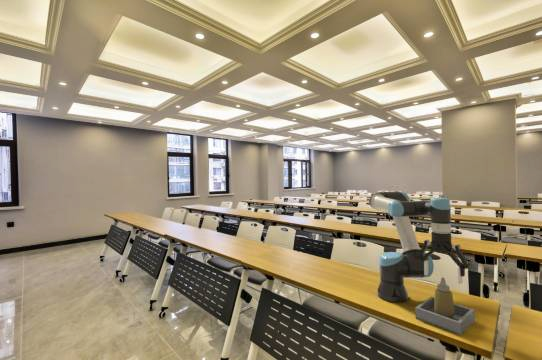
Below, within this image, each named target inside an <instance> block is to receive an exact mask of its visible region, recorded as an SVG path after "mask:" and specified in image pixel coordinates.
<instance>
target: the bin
mask: <svg viewBox="0 0 542 360" xmlns="http://www.w3.org/2000/svg"><path fill="white" fill-rule="evenodd" d="M434 299H435V296H431V297H429V298H427V299H426V300H424V301H423V302H422V303H421V302H420V304H418V305H417V306H415V307H414V309H415V311H414V312H415V319H416V320H419V321H421V322H424V323H426V324H429V325H432V326H434V327H438V328H439V329H442V330H444V331H447V332H450V333H452V334H456V335H457V336H459V337H461V336H462V335H463V334H464V333H465V332H466V331H467V330H469V328H470V327H471V326H472V325H473V324H474V323H475V322H476V315H475V312H476V311H475V309H474V308H470V307H467V306H463V305H460V304H457V303H454V308H455V314H454V317H453V319H450V318H447V317H444V316H442V315H439V314H436V312H435V310H434Z"/></svg>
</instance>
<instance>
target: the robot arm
mask: <svg viewBox="0 0 542 360" xmlns="http://www.w3.org/2000/svg"><path fill="white" fill-rule="evenodd" d="M368 203H369V206H370V207H371V208H372V209H374V210H377V211H380V210H381V211H384V212H387V213H388V214H389V216H390V217H392V219H393V223H394V225H395V228H396V231H397V235H398V237H399V240H400V244H401V247H402V252H398V251H395V252H394V251H388V252H384V253H382V254H381V255H380V256H379V275H380V276H379V277H380V280H379V281H380V282H379V284H378V288H377V296H378V297H379V298H380V299H381V300H384V301H387V302H389V303H390V302H391V303H404V302H405V303H406V302H407V301H408V300H409V293H408V291H407V288H406V286H405V282H404V281H405V280H404V278H408V279H410V278H421V279H423V278H430V277H431V276H432V275H433V273H434V267H435V265H434V261H433V258H432V256H431V255H433V254H434V253H435V252H436V253H442V254H446V255H447V256H449V257H450V258H451V260H452V261H453V262H454V263H455V264H456V265H457V266H458V268H457V281H458V282H457V284H458V285H462V284H463V279H464V278H463V277H465V275H466V271H465V270H468V269H469V268H471V266H470V264H469V261H468V260H467V258H466V257H465V255H464V253H463V251H462V249H461V244H453V243H452V233H451V232H452V223H451V222H452V221H451V220H452V219H451V218H452V217H451V208H452V206H451V201H450V199H449V198H448V197H433V198H430V200H427V199H422V200H421V199H420V200H413V201H412V200H411V199H410V197H409V195H408V193H406V192H404V191H400V190H396V191H379V192H378V191H377V192H375V193H372V194H371V196H370V197H369V199H368ZM410 217H429V218H430V226H431V227H430V229H431V240H429V239H426V240H424V241H423V245H422V248H421V247H420V244H419V242H418V239H417V235H416V233H415V231H414V228H413V226H412V222H411V220H410ZM430 245H431V247H432V248H431V249H430V250H429V251H428V252H426V251H427V250H428V248H429V246H430ZM452 249H453V250H452ZM454 251H455V252H456V254H455V252H454ZM456 255H457V256H456Z"/></svg>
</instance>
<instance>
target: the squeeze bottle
mask: <svg viewBox="0 0 542 360" xmlns="http://www.w3.org/2000/svg"><path fill="white" fill-rule="evenodd" d="M436 287H437V288H436V289H435V290H434V298H435V299H434V310H435V312H436V314H439V315H442V316H444V317H447V318H450V319H453V317H454V314H455V308H454V304H455V303H454V296H453V292H452V291H450V286H449V285H447V283H446V279H445V277H440V282H439V283H438V284H437V285H436Z"/></svg>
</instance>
